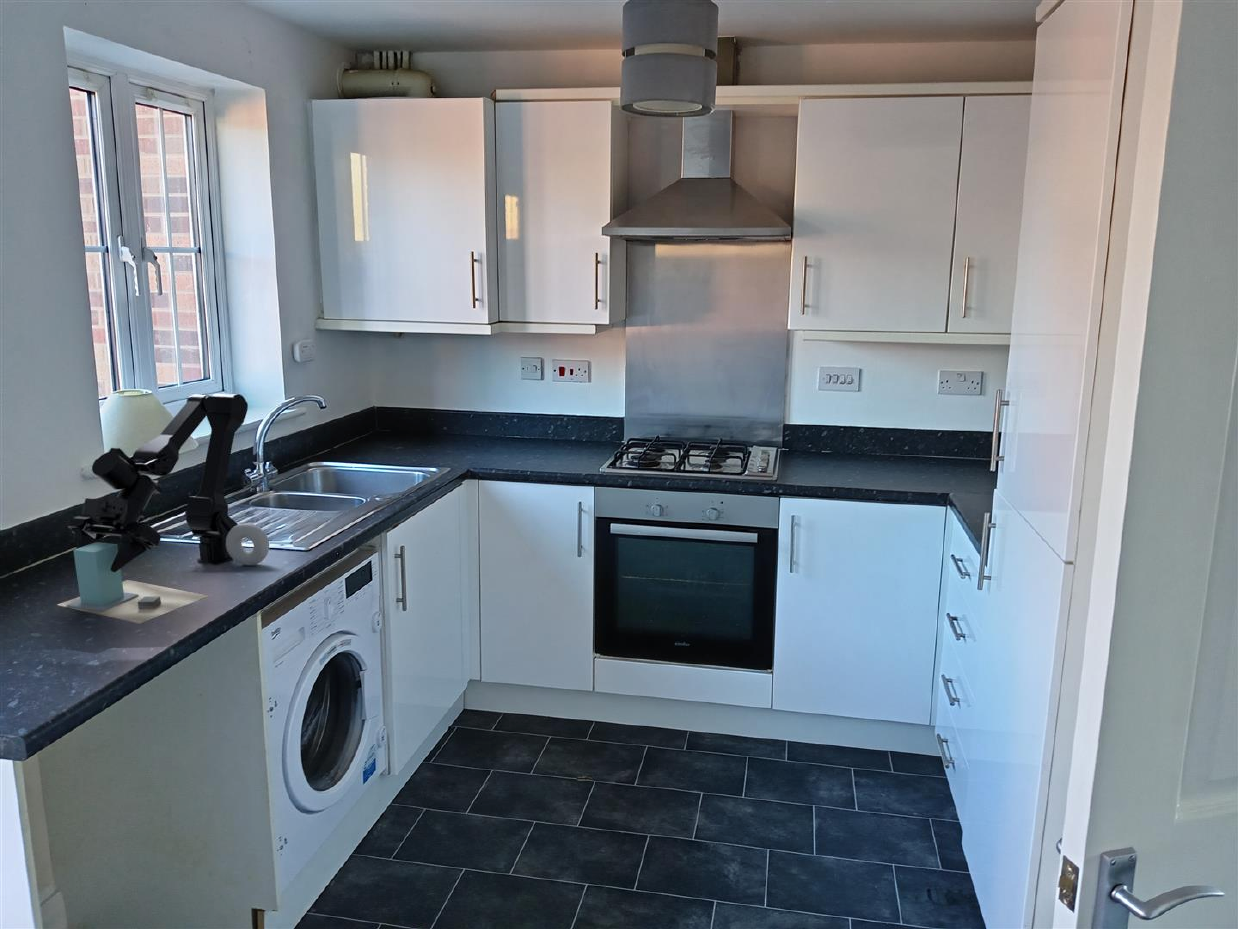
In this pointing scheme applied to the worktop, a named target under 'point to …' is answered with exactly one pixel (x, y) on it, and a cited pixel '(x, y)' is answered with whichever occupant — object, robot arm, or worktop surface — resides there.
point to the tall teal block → (98, 574)
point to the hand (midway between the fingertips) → (94, 569)
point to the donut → (255, 536)
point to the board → (145, 591)
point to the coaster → (105, 607)
